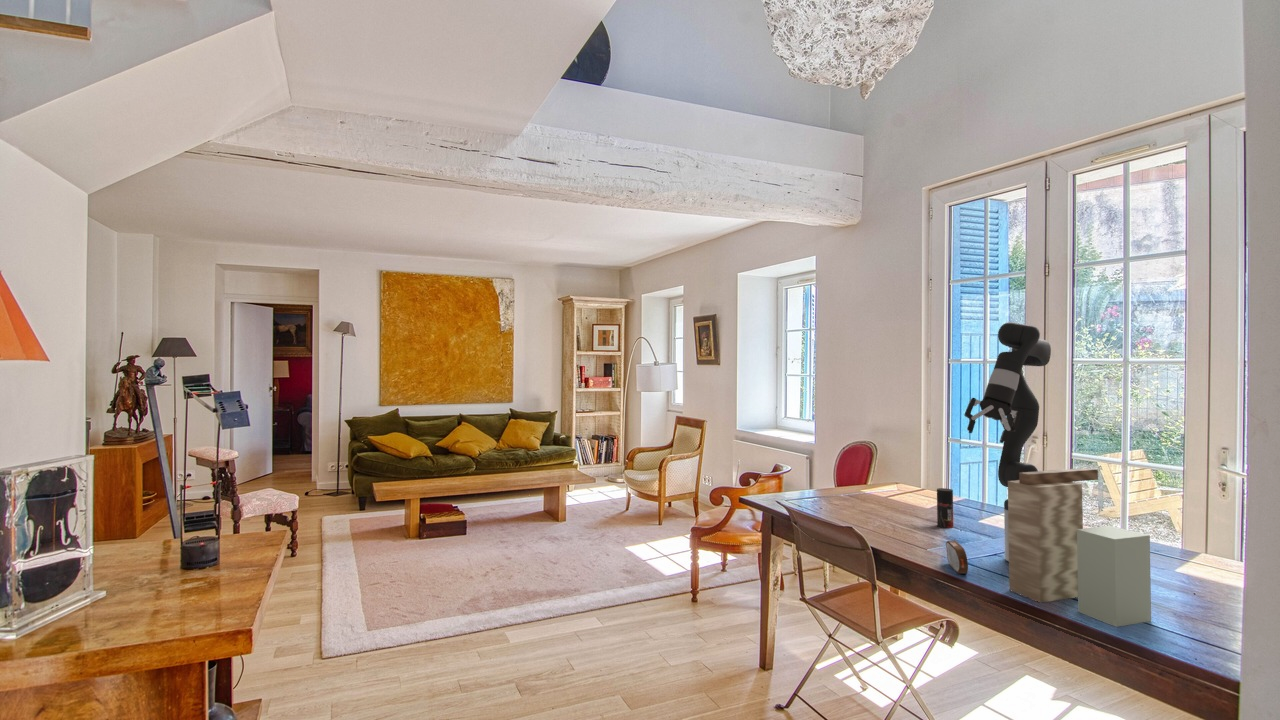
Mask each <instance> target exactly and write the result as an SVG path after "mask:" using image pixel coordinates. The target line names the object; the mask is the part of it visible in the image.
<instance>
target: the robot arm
mask: <svg viewBox="0 0 1280 720" xmlns="http://www.w3.org/2000/svg"><path fill="white" fill-rule="evenodd" d="M998 329H999V330H998V331H997V332H998V333H997V339H998V341H999V343H1000V344H1002V345H1003V346H1006V347H1007V348H1011V351H1001V352H1000V353H999V354H998V356H997V358H996V362H995V364H994V367H993V370H992V373H991V375H990V376H989V380H988V383H987V386H986V389H985V392H984V395H983V398H982V399H981V400H979V399H977V398H976V397H971V398H970V400H969V402H968V405H967V407H966V409H965V413H964V417H965V418H967V419H969V422H968V425H967V428H966V430H967V431H968V433H969V434H972V433H973V431H974V428H975V425H976V422H977V421H976V420H977V419H979V418H980V417H982V416H984V417H985V418H988V419H992V420H995V421H999V422H1000V424H1001V426H1002V429H1003V430H1002V433H1001V436H1000V438H999V443H1001V444H1002V445H1003V446H1002V450H1001V455H1000V459H999V463H998V469H997V476H998V481H999V483H1000V484H1001V486H1003V487H1005V488H1008V481H1016V480H1019V473H1022V472H1037V471H1038V468H1037V467H1036V466H1035V465H1033V464H1031V463H1028V462H1027V463H1026V462H1021V456H1022V450H1023V447H1024V446H1025V444H1026V442H1027V441H1028V440H1029V438H1030V437H1032V435H1033V433H1034V431H1036V429H1037V426H1038V424H1039V423H1038V422H1039V416H1040V415H1039V414H1040V404H1039V401H1038V399H1037V398H1036V396H1035V394H1034V393H1033V391H1032V390H1031V388H1030V387H1029V384H1028V383H1027V381H1026V379H1025V378H1026V377H1025V375H1024V371H1023V367H1024V366H1027V367H1028V366H1029V367H1045V366H1047V365H1048V364H1049V362H1050V360H1051V353H1052V350H1051V349H1052V348H1051V344H1050V342H1049V341H1048V340H1045V339H1041V338H1040V335H1041V333H1040V330H1039V328H1038V327H1036V325H1035V326H1034V325H1030V324H1025V323H1024V324H1023V323H1018V322H1013V321H1012V322H1011V321H1010V322H1005V323H1003V324H1002V325H1001V326H1000V327H999V328H998ZM977 405H979V408H980V409H981V410H979V412H977V413H976V414H974V415H973V414H971V413H972V412H973V409H974V407H976V406H977ZM1003 509H1004V511H1003V515H1004V516H1003V517H1004V521H1003V522H1004V560H1005V561H1007V562H1008V563H1009V528H1008V498H1007V499H1005V500H1004V502H1003Z"/></svg>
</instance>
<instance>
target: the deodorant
mask: <svg viewBox="0 0 1280 720" xmlns="http://www.w3.org/2000/svg"><path fill="white" fill-rule="evenodd" d="M936 518H937V519H936V520H937V524H936V525H937V527H938V526H939V528H942V527H943V528H942V529H953V528H954V490H953V489H952V488H944V487H941V488H936Z"/></svg>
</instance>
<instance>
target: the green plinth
mask: <svg viewBox="0 0 1280 720" xmlns="http://www.w3.org/2000/svg"><path fill="white" fill-rule="evenodd" d="M1077 558H1078V597H1077V600H1078V601H1077V603H1078V605H1077V609H1078V610H1077V612H1078V613H1079V614H1083V615H1085V616H1088V617H1090V618H1093V619H1095V620H1097V621H1101V622H1103V623H1105V624H1108V625H1110V626H1113V627H1116V628H1118V627H1123V626H1124V627H1125V626H1129V625H1136V624H1137V625H1138V624H1144V623H1148V622H1152V597H1151V596H1152V593H1151V592H1152V590H1151V589H1152V588H1151V587H1152V586H1151V536H1150V535H1149V534H1146V533H1141V532H1137V531H1133V530H1130V529H1125V528H1121V527H1117V526H1113V525H1107V526H1098V527H1097V526H1095V527H1088V528H1087V527H1086V528H1083V529H1077Z"/></svg>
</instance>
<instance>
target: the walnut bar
mask: <svg viewBox="0 0 1280 720" xmlns="http://www.w3.org/2000/svg"><path fill="white" fill-rule="evenodd" d="M1097 480H1099V469H1097V468H1090V467H1084V468H1083V467H1082V468H1067V469H1054V470H1053V469H1052V470H1039V471H1037V472H1022V473H1019V483H1021V484H1026V485H1035V484H1048V483H1061V482H1082V481H1083V482H1086V481H1097Z"/></svg>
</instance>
